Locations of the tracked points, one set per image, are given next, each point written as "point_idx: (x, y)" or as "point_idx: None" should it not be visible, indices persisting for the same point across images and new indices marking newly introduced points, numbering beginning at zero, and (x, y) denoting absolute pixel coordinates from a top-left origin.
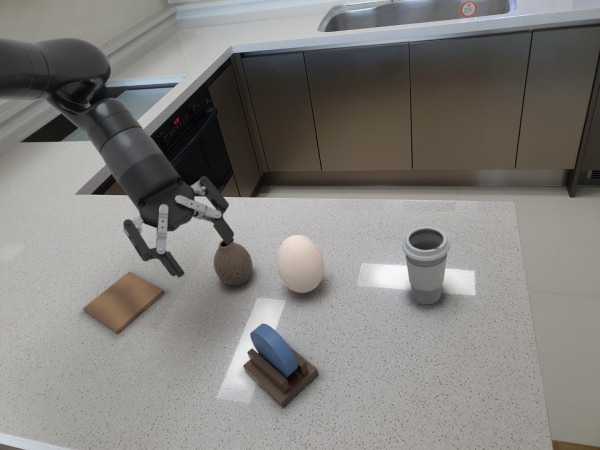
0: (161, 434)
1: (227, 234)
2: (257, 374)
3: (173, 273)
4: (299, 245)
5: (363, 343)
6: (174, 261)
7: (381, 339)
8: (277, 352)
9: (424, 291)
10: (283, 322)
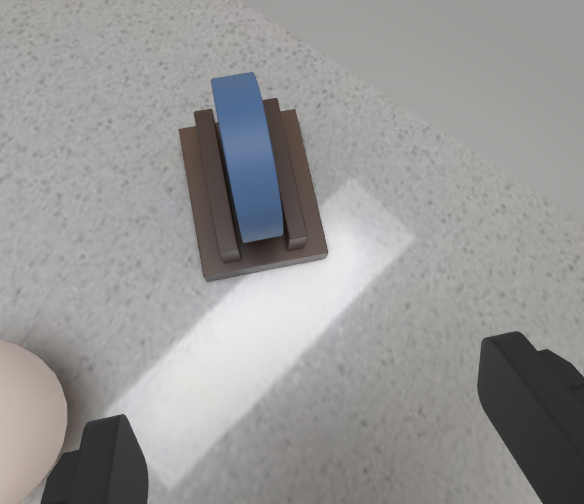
0: (558, 230)
1: (98, 455)
2: (307, 204)
3: (555, 355)
4: None
5: (43, 145)
6: (551, 395)
7: (2, 128)
8: (250, 75)
9: None
10: (160, 336)
